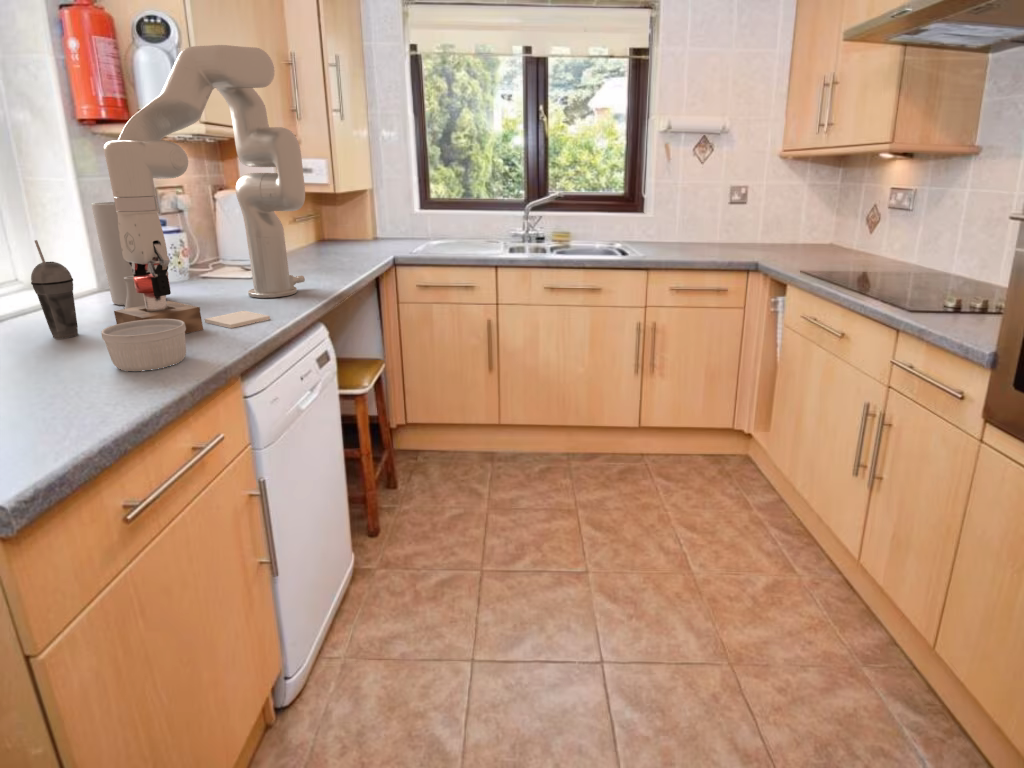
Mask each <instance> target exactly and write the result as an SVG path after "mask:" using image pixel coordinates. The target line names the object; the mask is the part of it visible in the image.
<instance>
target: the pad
mask: <svg viewBox="0 0 1024 768" xmlns="http://www.w3.org/2000/svg"><path fill="white" fill-rule="evenodd" d="M268 319H269V320H271V316H270V315H267V314H263V313H256V312H252V311H248V310H241V311H236V312H230V313H226V314H221V315H217V316H213V317H207V318H204V323H206V324H211V325H215V326H220V327H224V328H226V329H227V328H228V329H233V328H238V327H242V326H246V325H251V323H252V324H255V322H256V323H259V321H260V322H264V321H263V320H265V321H269V320H268Z"/></svg>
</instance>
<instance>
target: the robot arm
mask: <svg viewBox="0 0 1024 768" xmlns="http://www.w3.org/2000/svg"><path fill="white" fill-rule="evenodd" d="M274 65H275V64H274V62H273V60H272V59H271V57H270V55H269V54H268V53H267V52H266V51H265V50H264V49H261V48H260V47H253V46H252V47H251V46H239V45H228V44H213V45H193V46H188V47H186V48H184V49H182V50H181V51H180V52H179V54H178V55H177V57H176V59H175V61H174V63H173V66H172V68H171V71H170V73H169V74H168V77H167V79H166V81H165V83H164V85H163V86H162V87H163V88H162V90H161V92H160V93H159V94H158V96H156V97H155V98H154V99H152V100H151V101H150V102H149V103H147V104H146V105H145V106H144V107H142V108H141V109H140V110H139V111H137V112H136V113H135V114H134V115H132V116H131V118H129V120H128V121H127V122H126V123H125V125H124V127H123V129H122V130H121V133H120V134H119V137H118V138H117V140H109V141H107V142H105V144H104V145H103V150H104V157H105V161H106V166H107V172H108V175H109V181H110V186H111V191H112V196H113V200H114V201H113V202H115V206H116V211H117V214H118V228H119V236H120V243H121V249H122V255H123V258H124V259H125V260H126V261H127V262H129V264H130V265H131V267H132V273H133V275H134V277H135V276H139V275H145V274H150V272H147V271H148V266H149V268H150V270H151V273H152V275H153V277H151V281H152V286H153V291H154V296H156V297H159V296H165V295H166V296H169V295H171V294H172V292H171V285H170V286H169V284H170V280H168V279H169V272H168V271H169V266H170V265H169V264H170V261H171V260H170V257H169V256H168V250H167V249H168V248H167V243H166V239H165V235H164V230H163V227H162V223H161V220H160V217H159V214H158V213H160V210H159V209H160V208H159V203H158V199H157V194H156V188H155V182H154V179H160V180H161V179H168V180H169V179H174V178H175V179H176V178H179V177H181V176H182V175H184V174H185V173H186V171H187V169H188V168H189V158H188V154H187V152H186V151H185V149H184V148H183V147H182V146H180V145H179V144H177V143H176V142H174V141H170V140H162V139H163V138H165V137H167V136H169V135H171V134H173V133H176V132H178V131H181V130H184V129H185V128H188V127H190V126H192V125H194V124H196V123H197V122H198V121H200V119H201V117H202V116H203V112H204V110H205V108H206V105H207V103H208V101H209V98H210V97H211V94H212V92H213V90H214V89H216V90H217V91H218V92H219V93H220V94H221V96H222V98H224V100H225V102H226V104H227V106H228V109H229V112H230V113H229V114H230V117H231V122H232V130H233V137H234V145H235V151H236V155H237V157H238V160H239V161H240V162H241V164H242V165H244V166H247V167H249V168H250V167H251V168H276V172H250V173H247V174H244V175H242V176H240V177H239V178H238V180H237V181H236V183H235V184H236V185H235V194H236V198H237V202H238V204H239V207H240V211H241V214H242V218H243V222H244V228H245V229H244V230H245V236H246V241H247V248H248V250H247V251H248V255H249V264H250V269H251V276H252V277H251V278H252V284H253V288H251V289H249V290H248V296H249V297H252V298H258V299H259V298H260V299H270V298H271V299H272V298H282V297H287V296H291V295H294V294H296V293H298V289H297V287H296V284H301V283H305V280H306V279H305V276H304V275H298V276H293V275H292V274H290V271H289V263H288V255H287V254H288V253H287V246H286V239H285V230H284V227H283V226H284V225H283V223H282V222H281V220H280V218H279V216H278V215H277V214H276V212H294V211H295V212H296V211H298V210H300V209H301V208H303V206H304V204H305V200H306V186H305V175H304V167H303V160H302V159H303V158H302V151H301V146H300V143H299V140H298V138H297V136H296V135H295V134H294V132H293V131H291V130H290V129H288V128H287V127H282V126H281V127H280V126H275V127H273V126H271V127H270V126H269V119H268V113H267V109H266V105H265V103H264V101H263V99H262V98H261V96H260V95H259V93H258V92H257V91H256V90H255V89H260V88H267V87H268V86H270V85H271V83H272V82H273V80H274V77H275V66H274ZM152 260H153V261H152ZM154 265H157V268H156V269H155V266H154Z"/></svg>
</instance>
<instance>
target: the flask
mask: <svg viewBox="0 0 1024 768" xmlns="http://www.w3.org/2000/svg"><path fill="white" fill-rule="evenodd" d="M133 277H134V276H131V277H124V280H125V281H126V285H127V298H126V304H125V305H124V309H127V308H133V307H138V306H144V305H145V300H144V295H143V293H137V292H136V289H135V284H134V279H133Z"/></svg>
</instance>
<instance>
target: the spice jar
mask: <svg viewBox="0 0 1024 768" xmlns="http://www.w3.org/2000/svg"><path fill="white" fill-rule="evenodd" d="M151 277H153V275H152V274H145V275H139V276H135V277H133V279H134V284H135V289H136V292H137V293H143V295H144V300H145V305H146V310H147V312H149V313H153V312H158V311H164V310H168V308H167V302H166V301H167V296H166V297H165V296H159V297H156V296H154V291H153V286H152V281H151ZM168 280H169V278H168ZM169 281H170V280H169ZM169 286H170V287H171V285H170V283H169Z"/></svg>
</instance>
